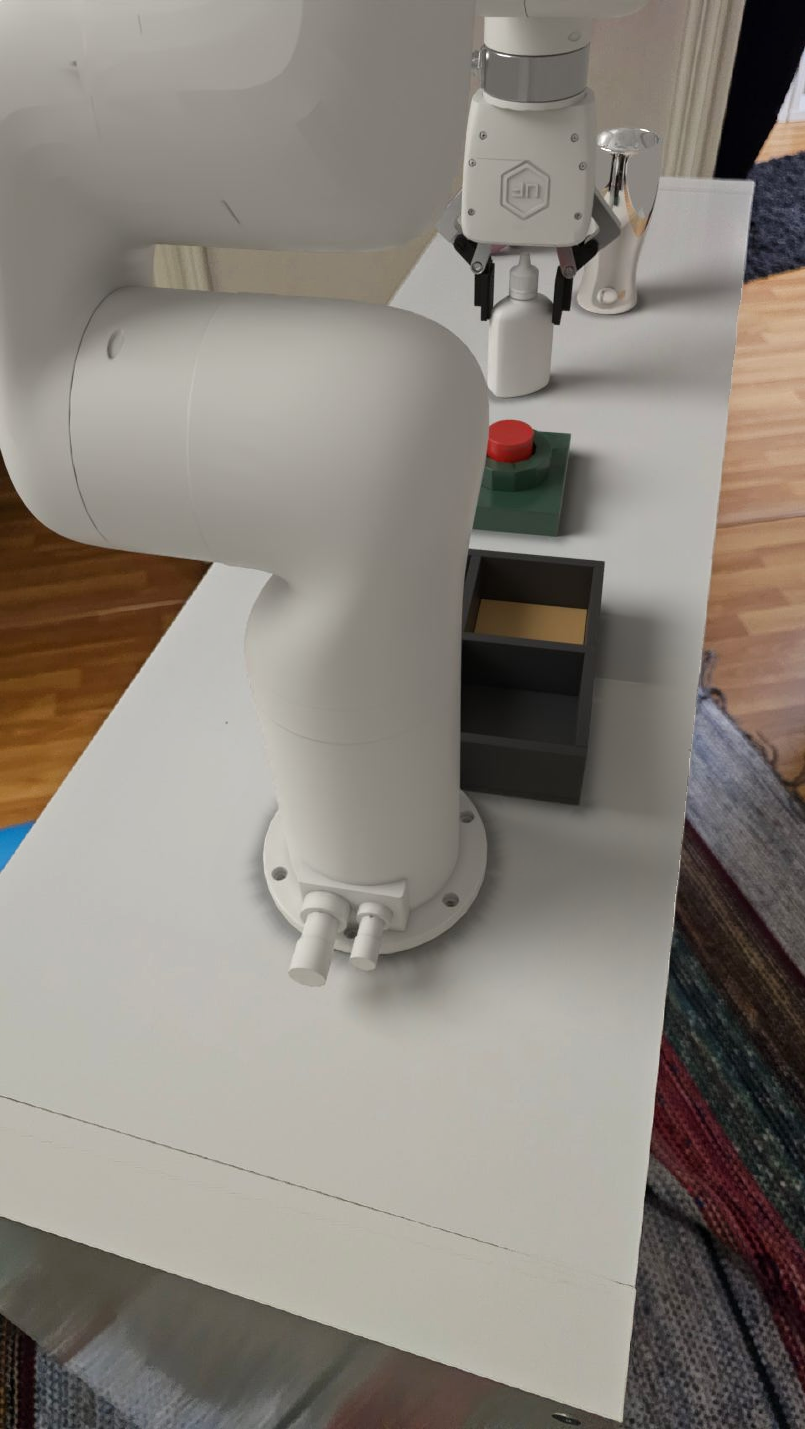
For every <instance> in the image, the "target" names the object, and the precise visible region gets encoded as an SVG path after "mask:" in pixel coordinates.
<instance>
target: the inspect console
mask: <svg viewBox="0 0 805 1429" xmlns="http://www.w3.org/2000/svg"><path fill="white" fill-rule="evenodd" d="M532 429H533V432H534V436H533V450H532V455H531V456H530V458H529V459H527V460H524V461H520V462H516V463H504V462H498V461H495V460H493V459H491V458H489V457H488V455H487V453H486V461H485V467H484V472H483V477H482V482H481V487H480V492H479V497H478V502H477V507H476V512H475V517H474V522H473V527H472V530H475V531H486V532H487V531H488V532H500V533H510V534H521V535H534V536H545V537H553V538H554V537H555V538H557V537H558V534H559V526H560V521H561V512H562V505H563V499H564V494H565V493H564V492H565V485H566V477H567V471H568V465H569V458H570V449H571V441H572V440H571V439H572V433H568V432H557V431H556V432H555V431H554V432H553V431H542V430H537V429H534V428H532Z"/></svg>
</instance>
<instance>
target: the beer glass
mask: <svg viewBox="0 0 805 1429" xmlns="http://www.w3.org/2000/svg"><path fill="white" fill-rule="evenodd" d="M663 138H664V137H663V136H662V134H659V132H657V131H655V130H652V129H649V128H644V127H638V126H614V127H607V128H603V129H600V130H597V151H596V173H595V186H596V188H597V189H598V191H599V192H600V194H601V195H602V196H603V198H604V199H605V201H606V202H607V204H608V205H609V206H610V208H611V209H612V211H613V212H614V213H615V215H616V216H617V218H618V219H619V221H620V222H621V234H620V236H619V237H618V238H616V239H615V240H614V241H613V242H611V243H610V244H609V245H607V246H606V247H605V248H603V249H601V250H600V251H599V252H597V254H596V255H595V256H594V257H593V258H592V259H591V260H590V261H589V262H588V263H586V264H585V265H584V266H583V273H582V278H581V281H580V285H579V288H578V291H577V295H576V302H577V304H578V305H579V306H580V307H581V308H582V309H584V310H586V311H588V312H590V313H594V314H598V315H617V314H623V313H626V312H628V311H630V310H632V309H633V308H634V307H636V305H637V302H638V288H637V286H638V285H637V274H638V267H639V263H640V257H641V255H642V251H643V247H644V244H645V241H646V239H647V235H648V233H649V229H650V225H651V222H652V219H653V216H654V212H655V208H656V204H657V200H658V199H657V198H658V192H659V188H660V179H661V178H660V177H661V169H662V168H661V167H662V154H663V152H662V151H663V143H664V139H663ZM598 228H599V226H598V225H597V223H596V222H595V221H594V219H593V218H592V216H591V222H590V227H589V231H588V233H587V236H588V235H591V234H592V233H594V232H595V231H596V230H597V229H598ZM587 236H586V237H587Z"/></svg>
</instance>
